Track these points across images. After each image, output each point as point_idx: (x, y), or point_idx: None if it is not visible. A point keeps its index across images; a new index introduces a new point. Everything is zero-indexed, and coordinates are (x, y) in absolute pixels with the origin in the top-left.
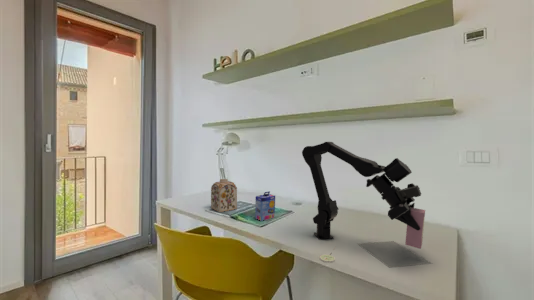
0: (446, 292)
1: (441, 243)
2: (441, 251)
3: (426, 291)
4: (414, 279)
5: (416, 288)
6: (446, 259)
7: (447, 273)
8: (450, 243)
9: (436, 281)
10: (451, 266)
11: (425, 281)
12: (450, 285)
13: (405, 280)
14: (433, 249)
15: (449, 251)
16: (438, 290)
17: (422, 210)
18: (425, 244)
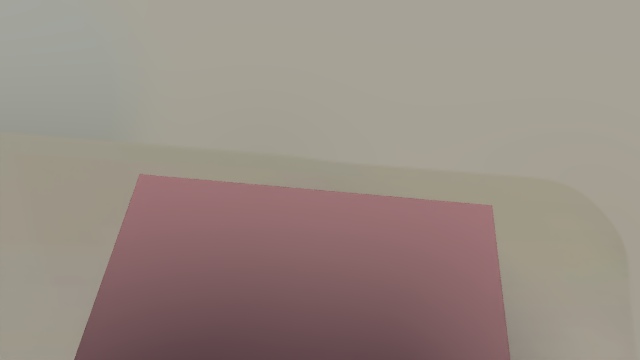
0: (564, 194)
1: (14, 178)
2: (134, 185)
3: (619, 263)
4: (548, 311)
5: (628, 301)
6: (230, 172)
7: (386, 179)
8: (3, 140)
9: (496, 223)
10: (301, 160)
11: (530, 264)
12: (493, 177)
13: (591, 352)
14: (120, 218)
15: (120, 153)
16: (572, 220)
17: (229, 237)
18: (54, 255)
